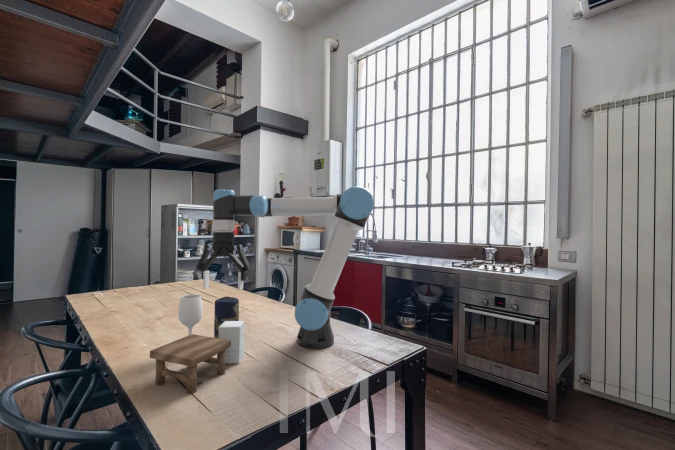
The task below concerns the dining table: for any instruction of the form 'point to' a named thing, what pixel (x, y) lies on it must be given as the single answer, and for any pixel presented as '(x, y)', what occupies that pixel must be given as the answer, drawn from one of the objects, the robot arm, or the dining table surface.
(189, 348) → the stool
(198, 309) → the wineglass
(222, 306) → the canister
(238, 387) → the dining table surface
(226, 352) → the supplement box
